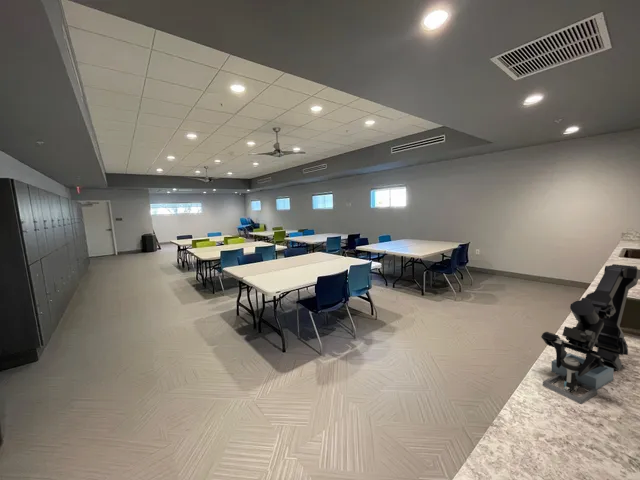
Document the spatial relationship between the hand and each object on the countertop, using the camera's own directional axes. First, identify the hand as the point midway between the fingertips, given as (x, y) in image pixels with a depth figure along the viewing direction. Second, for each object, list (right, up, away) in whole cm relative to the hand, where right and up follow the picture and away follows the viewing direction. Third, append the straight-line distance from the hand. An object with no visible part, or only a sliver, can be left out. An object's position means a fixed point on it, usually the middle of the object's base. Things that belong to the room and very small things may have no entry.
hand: (567, 371), depth 86 cm
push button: (+2, -7, +1) cm, 7 cm away
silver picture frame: (+2, -6, +1) cm, 7 cm away
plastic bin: (+12, -5, +8) cm, 16 cm away
